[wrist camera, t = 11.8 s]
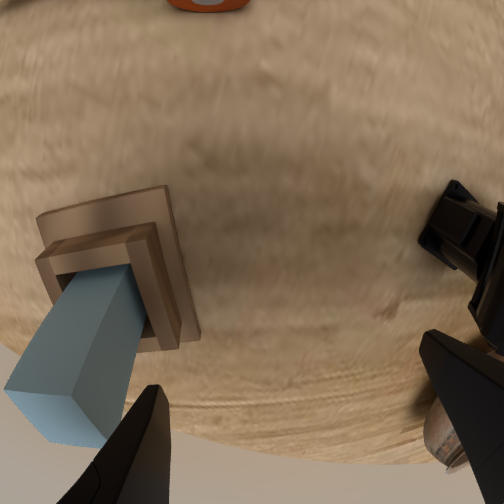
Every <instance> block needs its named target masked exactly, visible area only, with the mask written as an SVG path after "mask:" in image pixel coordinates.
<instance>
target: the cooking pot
mask: <svg viewBox="0 0 504 504" xmlns="http://www.w3.org/2000/svg"><path fill="white" fill-rule="evenodd" d="M486 354H488V355H490V356H492V357H494V358H496V359H498V360H500V361H502V362H504V356H501V355H498V354H496V353H495V350H493V351H490V352H488V353H486ZM423 434H424V443H425V446H426V448H427V450H428V451H429V452H430V453H431V454H432V455H433V456H434V457H435V458H436V459H437V460H439V461H440V462H441V463H443V464H444V465H446V466H448V468H447V470H446V474H452V473H455V472H457V471H460V470H462V469H464V468H465V467H467V466H469V465H470V463H469V461H468V458H467V456H466V454H465V452H464V449H463V447H462V445H461V443H460V441H459V438H458V436H457V434H456V432H455V430H454V428H453V426H452V424H451V422H450V419H449V417H448V415H447V413H446V411H445V409H444V407H443V405H442V403H441V402H440V400H439V398H438V396H437V397H436V399H435V400H434V402H433V404H432V406H431V408H430V410H429V412H428V414H427V416H426V420H425V423H424V429H423Z"/></svg>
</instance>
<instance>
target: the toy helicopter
mask: <svg viewBox="0 0 504 504" xmlns="http://www.w3.org/2000/svg"><path fill="white" fill-rule="evenodd" d="M167 1H168V2H169V3H170V4H171V5H173V6H176V7H179V8H183V9H186V10H192V11H199V12H217V11H227V10H232V9H237V8H240V7H242V6H244V5H246V4H247V3H249V1H250V0H167Z"/></svg>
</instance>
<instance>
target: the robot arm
mask: <svg viewBox="0 0 504 504" xmlns="http://www.w3.org/2000/svg"><path fill="white" fill-rule="evenodd" d="M454 186H455V188H454ZM497 209H498V211H497V213H496V212H494V211H492V210H490V209H488V208H486V207H484V206H482V205H480V204H479V203H478V202H477V201H476V200H475V198H474V197H473V196H472V195H471V194H470V193H469V192H468V191H467V190H466V189H465V188H464V187H463V186H462V185H461V183H460V182H458V181H456V180H452V181H451V182H450V184H449V186H448V188H447V190H446V192H445V194H444V195H443V197H442V199H441V201H440V203H439V205H438V207H437V208H436V210H435V212H434V214H433V216H432V217H431V219H430V221H429V223H428V224H427V226H426V228H425V229H424V231H423V233H422V234H421V236H420V238H419V240H418V243H419V245H420V246H421V247H423V248H424V249H426V250H427V251H428V252H430V253H431V254H433V255H434V256H436V257H437V258H438V259H440V260H441V261H442V262H444V263H445V264H447V265H448V266H449V267H451V268H452V269H453V270H456V269H460V270H461V271H462V272H464V273H465V274H466V275H467V276H468V277H470V278H471V279H472V280H473V281H475V282H476V283H477V286H476V289H475V292H474V294H473V297H472V300H471V301H470V302H469V305H468V309H469V311H470V313H471V314H472V316H473V318H474V320H475V322H476V323H477V325H478V327H479V329H480V333H481V335H482V336H483V337H484V339H485V340H486V342H487V343H488V345H489V346H490V347H492V348H493V349H494V350H495V353H496V354H498V355H501V356H504V202H498V206H497ZM424 240H425V242H424V243H423V241H424ZM419 353H420V356H421V359H422V361H423V364H424V366H425V368H426V371H427V373H428V376H429V378H430V381H431V383H432V386H433V388H434V390H435V392H436V394H437V396H438V398H439V400H440V402H441V403H442V405H443V407H444V409H445V411H446V413H447V415H448V417H449V419H450V422H451V424H452V426H453V428H454V430H455V432H456V434H457V436H458V438H459V441H460V443H461V445H462V447H463V449H464V452H465V454H466V456H467V458H468V461H469V463H470V465H471V468H472V470H473V472H474V475H475V478H476V480H477V483H478V485H479V487H480V490H481V493H482V495H483V498H484V501H485V504H504V362H502V361H500V360H498V359H496V358H494V357H492V356H490V355H488V354H486V353H484V352H482V351H480V350H478V349H475V348H473V347H471V346H469V345H467V344H465V343H463V342H461V341H459V340H457V339H455V338H453V337H451V336H448V335H446V334H444V333H442V332H440V331H438V330H436V329H432V330H429V331H426V332H425V333H424V334H423V337H422V341H421V344H420V347H419ZM170 461H171V433H170V414H169V402H168V399H167V397H166V395H165V393H164V391H163V389H162V387H161V386H160V385H158V384H156V385H148V386H147V387H146V388H145V389H144V391H143V392H142V393H141V395H140V396H139V397H138V399H137V400H136V401H135V403H134V404H133V406H132V407H131V408H130V410H129V411H128V412H127V414H126V415H125V417H124V418H123V419H122V421H121V422H120V423H119V425H118V426H117V428H116V429H115V430H114V432H113V433H112V434H111V436H110V437H109V439H108V440H107V441H106V443H105V444H104V445H103V447H102V448H101V450H100V451H99V452H98V454H97V455H96V456H95V458H94V460H93V461H92V462H91V463H90V465H89V466H88V467H87V469H86V470H85V471H84V473H83V474H82V475H81V477H80V478H79V479H78V480H77V482H76V483H75V484H74V485H73V486H72V487H71V488H70V489H69V490H68V492H67V493H66V494H65V495H64V496H63V497H62V498H61V499H60V500H59V501H58V502H57V503H56V504H169V484H170V483H169V482H170Z"/></svg>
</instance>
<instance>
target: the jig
mask: <svg viewBox="0 0 504 504" xmlns="http://www.w3.org/2000/svg"><path fill="white" fill-rule="evenodd" d="M36 221H37V224H38V228H39V231H40V234H41V237H42V240H43V243H44V246H45V250H44V251H43V252H42V253H41V254H40V255H39V256H38V257H37V258H36V259H35V263H36V266H37V268H38V271H39V273H40V276H41V278H42V281H43V283H44V285H45V288H46V290H47V292H48V295H49V297H50V299H51V301H52V304H53V306H54V304H55V303H56V301H57V300H58V299H59V297H60V296H61V294H62V293H63V291H64V290H65V289H66V287H67V286H68V284H69V283H70V282H71V280H72V279H73V278H74V276H75V275H76V274H77V272H78V271H84V270H90V269H96V268H102V267H109V266H115V265H121V264H128V263H131V266H132V269H133V272H134V275H135V279H136V282H137V285H138V288H139V291H140V294H141V297H142V300H143V303H144V305H145V308H146V311H147V315H146V319H145V322H144V326H143V330H142V333H141V337H140V341H139V345H138V349H137V352H136V353H140V352H152V351H163V350H173V349H179V343H181V342H189V341H198V340H200V337H201V332H200V328H199V324H198V321H197V317H196V313H195V309H194V306H193V302H192V298H191V294H190V290H189V286H188V282H187V278H186V274H185V269H184V265H183V261H182V257H181V252H180V248H179V244H178V239H177V234H176V230H175V225H174V220H173V216H172V211H171V206H170V201H169V196H168V191H167V185H163V186H158V187H153V188H147V189H142V190H138V191H133V192H128V193H123V194H119V195H114V196H110V197H105V198H101V199H97V200H93V201H88V202H84V203H80V204H76V205H72V206H68V207H65V208H61V209H57V210H53V211H50V212H46V213H43V214H41V215H39V216H38V217H36Z"/></svg>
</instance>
